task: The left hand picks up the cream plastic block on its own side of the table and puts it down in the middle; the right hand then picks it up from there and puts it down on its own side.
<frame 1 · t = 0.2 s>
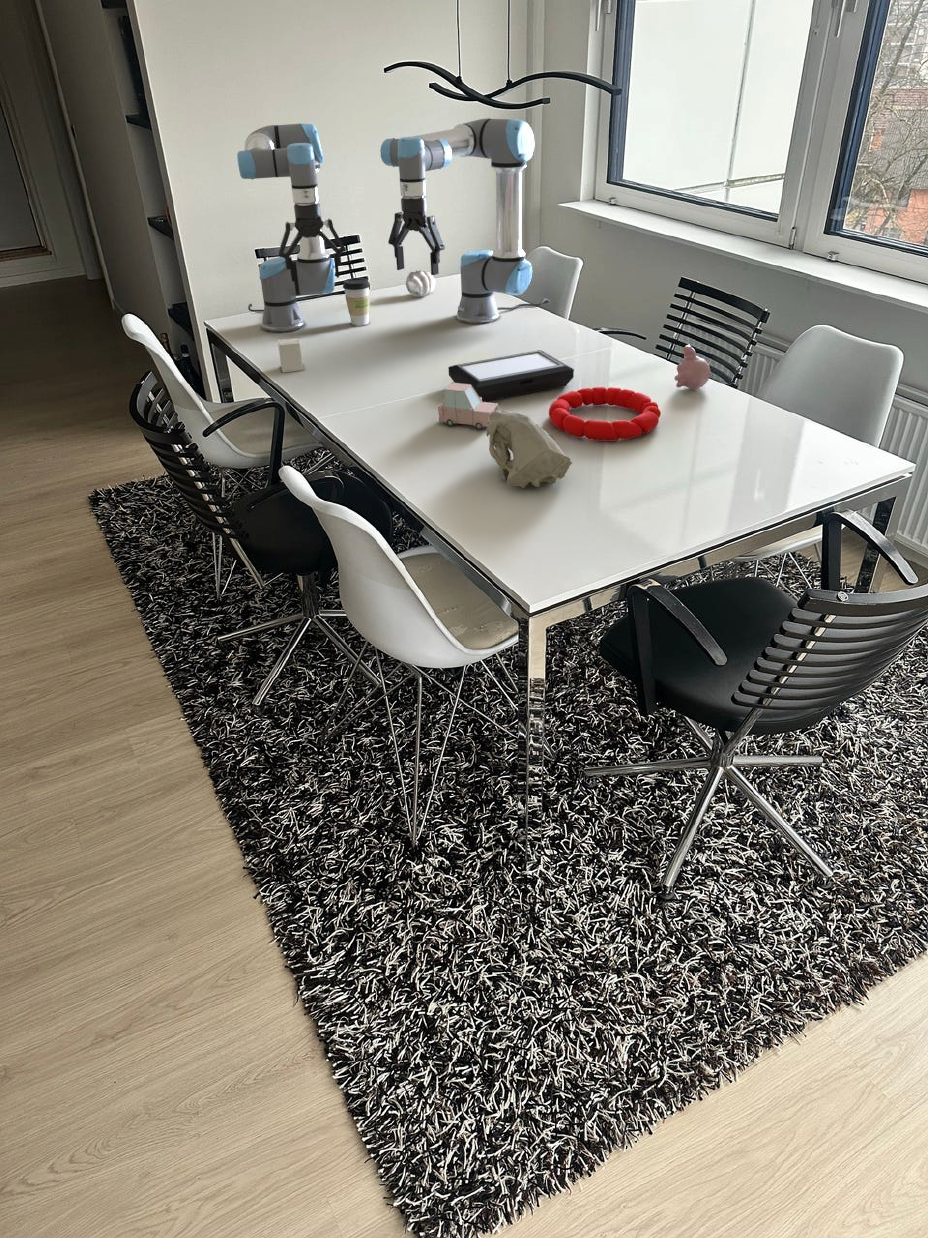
left hand: (315, 278, 273), 27 cm above the table, tool pointing down, fingers open, 13 cm apart
right hand: (417, 271, 274), 28 cm above the table, tool pointing down, fingers open, 13 cm apart
coffee cup: (360, 323, 327), on the table
seashell: (422, 296, 355), on the table
electronic device: (510, 386, 269), on the table
decorative ring: (603, 422, 244), on the table
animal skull: (520, 470, 220), on the table
figurine: (690, 388, 263), on the table
block: (292, 368, 288), on the table
toy car: (468, 423, 246), on the table
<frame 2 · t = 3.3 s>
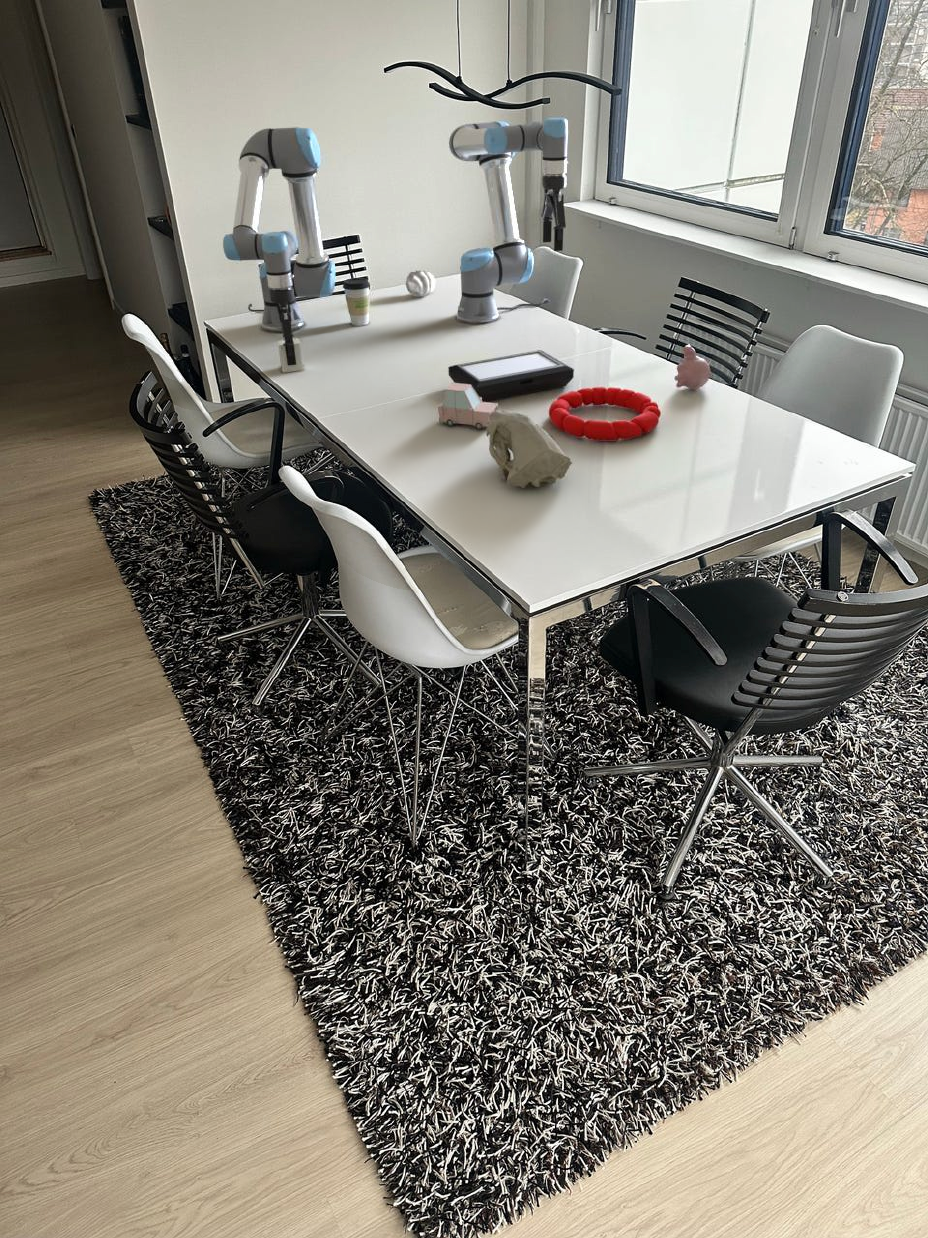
left hand: (291, 361, 287), 2 cm above the table, tool pointing down, fingers closed on block, 6 cm apart
right hand: (552, 246, 291), 29 cm above the table, tool pointing down, fingers open, 13 cm apart
block: (292, 368, 288), on the table, touching left hand
everything else where it was.
when the left hand's fingers open (3 cm above the table, at t = 6.7 s): block drops 1 cm, on the table.
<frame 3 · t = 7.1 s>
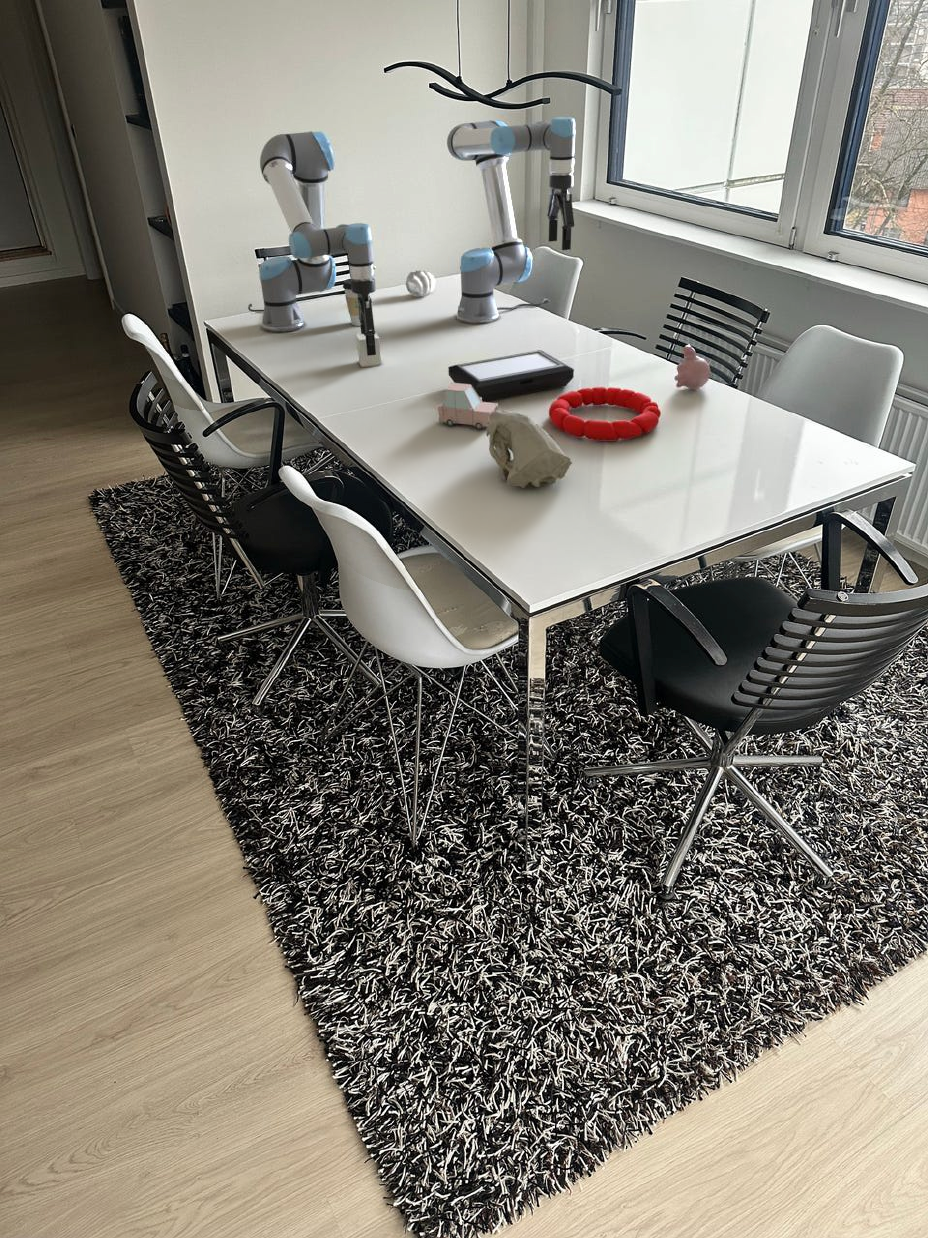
left hand: (369, 349, 288), 4 cm above the table, tool pointing down, fingers open, 10 cm apart
right hand: (559, 245, 292), 29 cm above the table, tool pointing down, fingers open, 13 cm apart
block: (370, 363, 290), on the table
everything else where it was.
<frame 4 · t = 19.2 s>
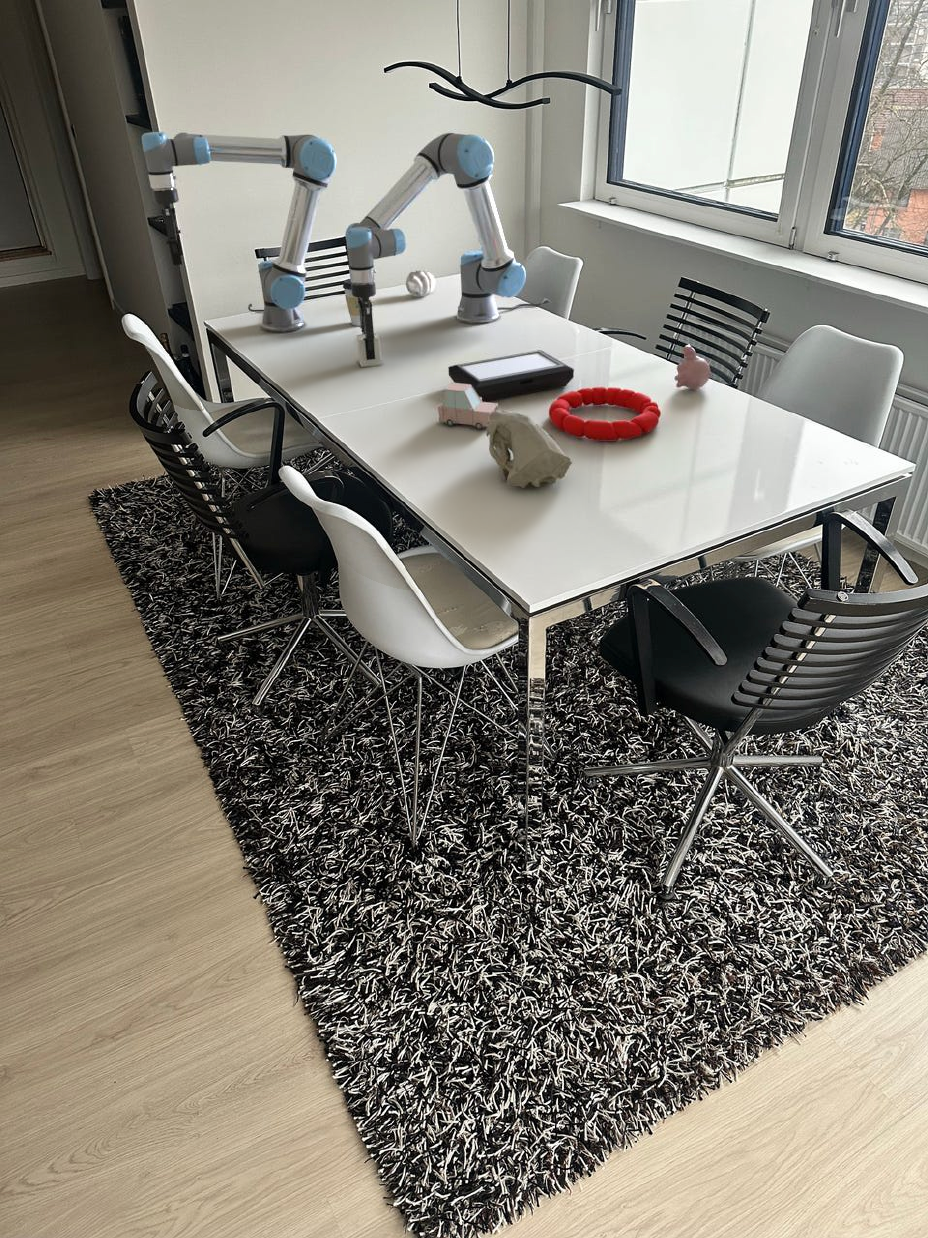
left hand: (178, 259, 290), 29 cm above the table, tool pointing down, fingers open, 13 cm apart
right hand: (369, 355, 289), 2 cm above the table, tool pointing down, fingers closed on block, 6 cm apart
block: (370, 363, 290), on the table, touching right hand
everything else where it was.
when the right hand's fingers open (3 cm above the table, at t = 25.4 s): block drops 1 cm, on the table.
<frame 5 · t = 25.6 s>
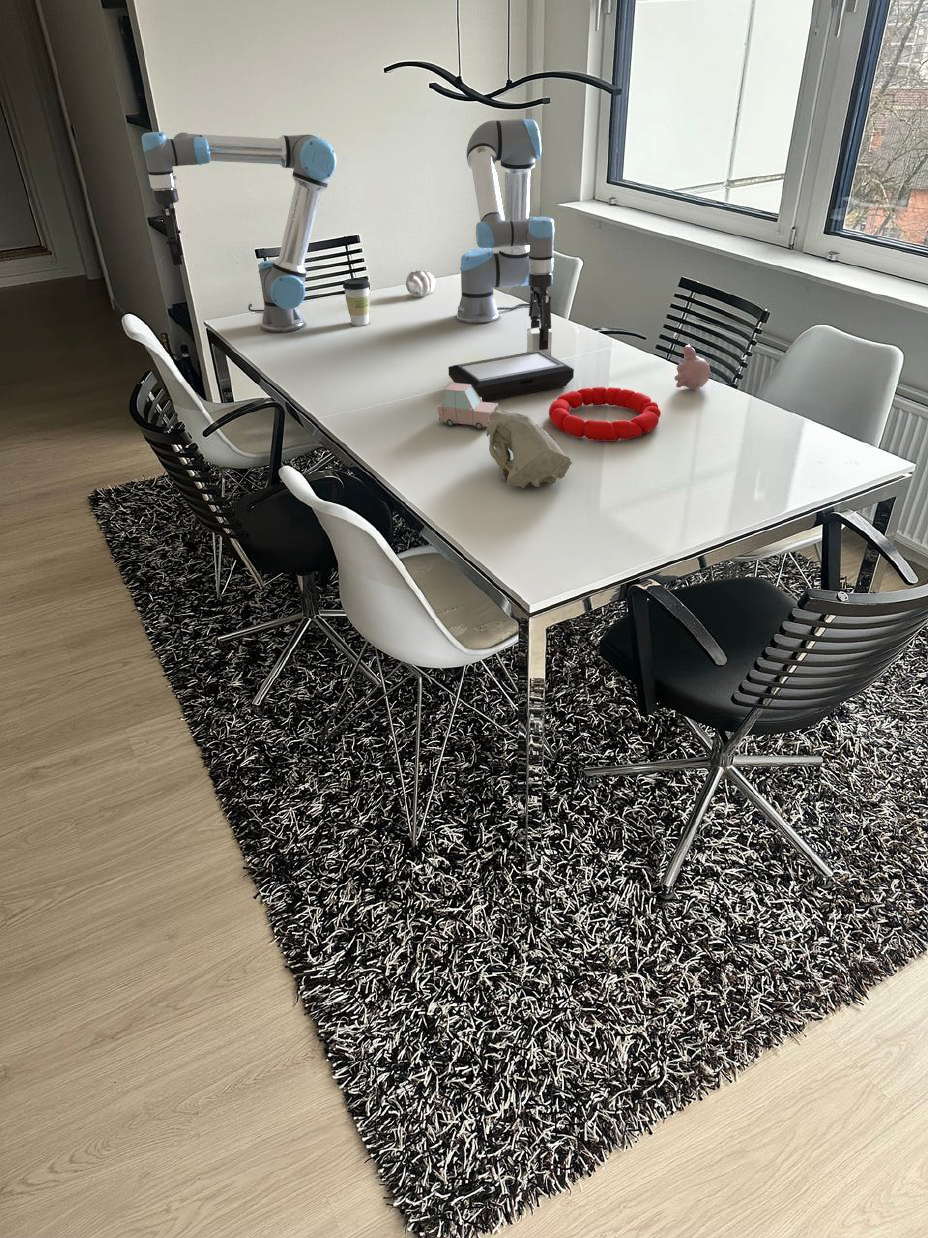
left hand: (178, 259, 290), 29 cm above the table, tool pointing down, fingers open, 13 cm apart
right hand: (539, 345, 288), 4 cm above the table, tool pointing down, fingers open, 8 cm apart
block: (538, 356, 290), on the table
everything else where it was.
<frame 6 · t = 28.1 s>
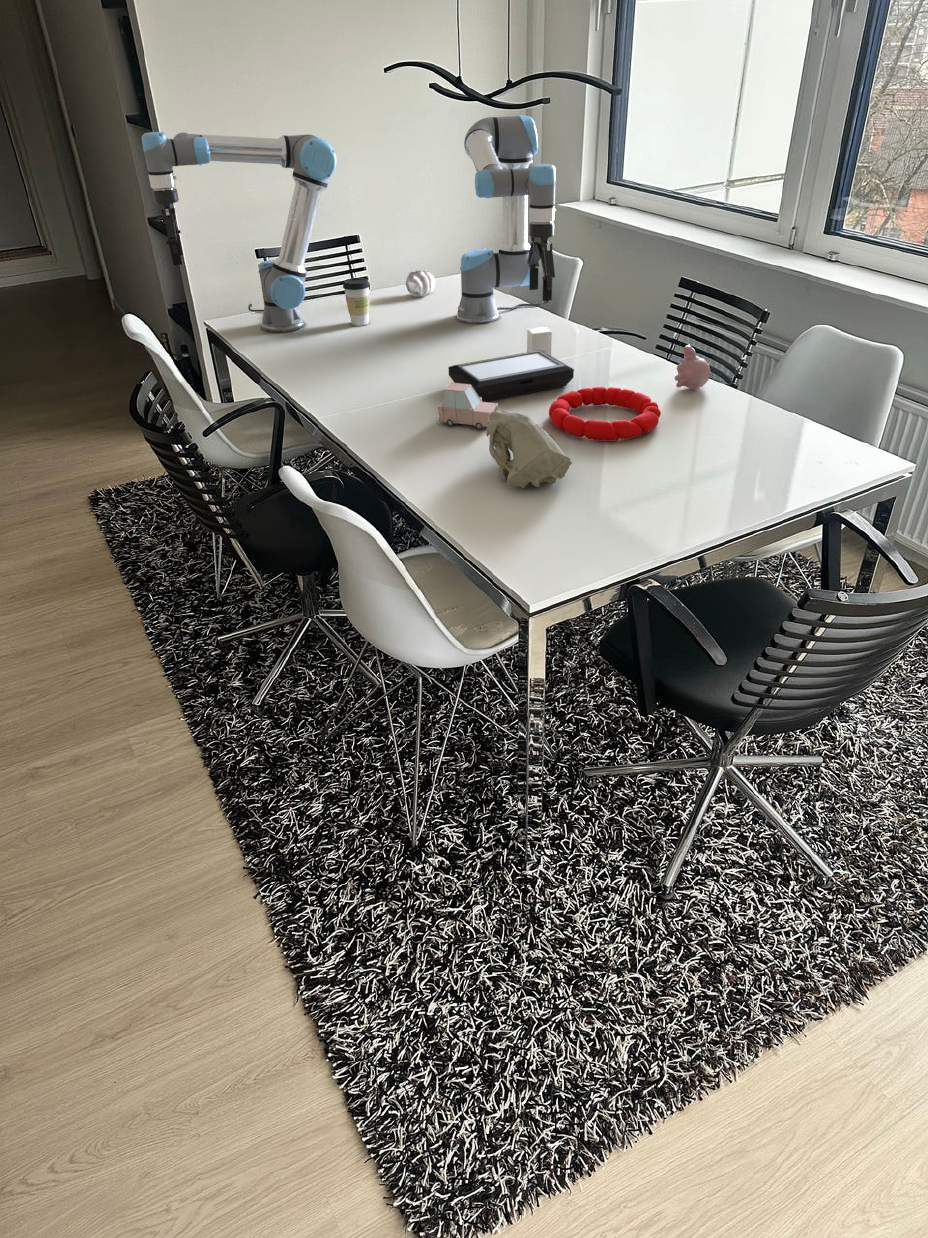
left hand: (178, 259, 290), 29 cm above the table, tool pointing down, fingers open, 13 cm apart
right hand: (540, 294, 279), 20 cm above the table, tool pointing down, fingers open, 13 cm apart
nothing on the table moved.
at the end: block inside the target area (0.1 cm from its centre), on the table; block tilted 0°; the two hands never held the block at the same time; the left hand is holding nothing; the right hand is holding nothing; block at rest at the end (0.0 cm/s) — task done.
